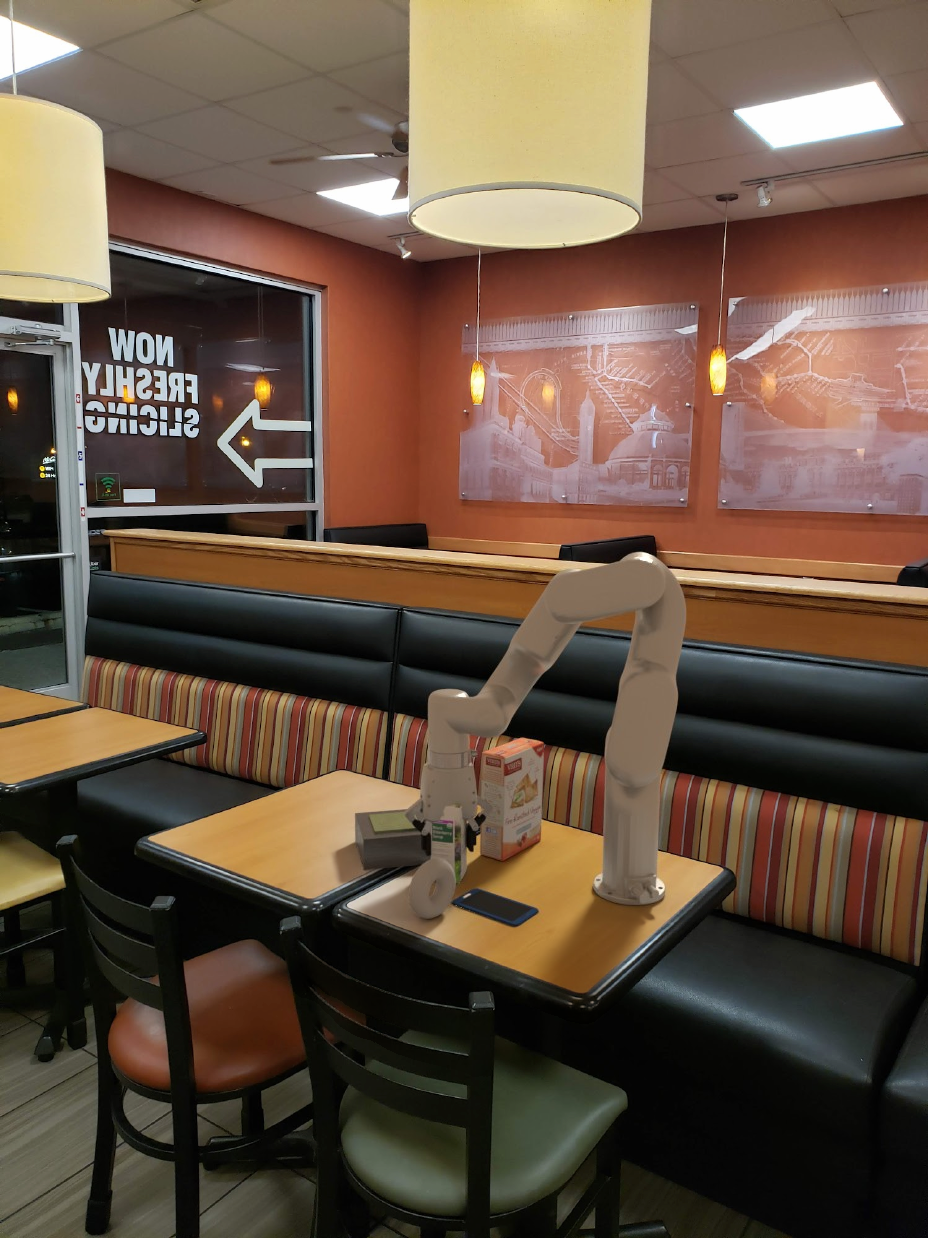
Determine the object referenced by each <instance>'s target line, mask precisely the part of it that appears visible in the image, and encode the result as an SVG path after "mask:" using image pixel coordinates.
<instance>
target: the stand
mask: <svg viewBox="0 0 928 1238" xmlns="http://www.w3.org/2000/svg"><path fill="white" fill-rule="evenodd" d="M407 809H408V808H406V809H393V810H380V811H378V810H377V811H368V812H367V811H366V812H355V813H354V832H355V834H354V835H355V836H354V837H355V838H354V840H355V841H354V842H355V845H356V848H357V852H358V855H359V859H360V862H361V866H362V869H363V871H366V870H368V871H369V870H370V871H371V870H378V869H390V868H399V867H411V866H421V865H422V864H424V863H425V862H427V861H428V860H431V855H430V856H427V855H426V853H425V851H424V850H422V848H421V832H420V831H419V830H418V829H416V828H415V827H414V826H413V824H412V823H411V822H410V821H409V820H408V819H407V818H406V816H405V814H404V812H405V811H406V810H407ZM415 817H416V818H417V819H418V820H419V821H422V820H423V818H424V815H423V813H421V812H420V810H419V811H418V812H417V813H416V814H415ZM429 833H430V830H429Z"/></svg>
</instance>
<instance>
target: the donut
mask: <svg viewBox="0 0 928 1238" xmlns="http://www.w3.org/2000/svg"><path fill="white" fill-rule="evenodd" d="M435 881H436V882H435ZM434 882H435V888H434V890H433V892H432V894H431V895H430V891H431V887H432V885H433V883H434ZM456 885H457V883H456V877H455V872H454V870H453V867H452V866H451V865H450V864H449V863H448V862H447V861H446V860H443V859H439V858H435V859H431V860H428V861H427V862H425V863H424V864H422V865H419V867H418V869H417V870H416V871H415V872H414V874H413V876H412V878H411V881H410V884H409V888H408V889H409V890H408V901H409V902H408V904H409V906H410V908H411V910H412V912H413V913H414V914H415V915H416V916H418V917H419V918H421V919H427V920H429V919H433V918H434V919H435V918H436V917H439V915H441V914H443V912H445V911H446V909H447V908H448V907H449V906H450V904H451V902H452V901H453V898H454V895H455V891H456Z"/></svg>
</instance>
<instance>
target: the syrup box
mask: <svg viewBox="0 0 928 1238" xmlns="http://www.w3.org/2000/svg"><path fill="white" fill-rule="evenodd" d="M461 805H462V804H460V805H452V806H446V807H445V808H444V811H443V814H442V816H441V818H440V820H439V821H435V822H433V823H432V827H431V828H430V835H431V859H435V858H439V859H443V860H446V861H447V862H448V863H449V864H450V865H451V866H452V867H453V870H454V872H455V877H456V884H461V882H462V880H463V878H464V877H465V875H466V872H467V869H468V868H467V867H468V866H467V865H468V864H467V863H468V862H467V861H468V860H467V856H468V854H467V853H468V851H467V850H468V848H467V826H468V821H467V819H463V815H462V806H461ZM461 879H462V880H461ZM460 881H461V882H460Z"/></svg>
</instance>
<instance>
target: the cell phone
mask: <svg viewBox="0 0 928 1238" xmlns="http://www.w3.org/2000/svg"><path fill="white" fill-rule="evenodd" d="M450 904H451V905H452V904H453V905H452V906H455V905H457V906H458V908H460V907H462V908H461V909H463V908H464V909H463V910H465V911H468V910H470V911H469V912H471V913H474V912H475V914H477V915H480V916H482V915H483V917H485V918H487V919H491V920H494V921H496V922H499V923H502V924H505V925H506V926H507V925H508V926H510V927H514V928H515V927H516V928H517V927H519V926H521V925H522V924H524V923H525V922H527V921H528V920H530V919H532V918H534V917H535V916H536V915H538V914H539V909H538V908H537V907H535V906H532V905H529V904H526V903H523V902H520V901H518V900H514V899H510V898H509V897H505V896H502V895H498V894H497V893H493V892H490V891H488V890H485V889H481V888H478V887H476V888H472V889H470V890H469V891H466V892H465V893H463V894H462V895H459V896H458V897H456V898H455V899H452V900H451V902H450ZM457 906H456V907H457Z"/></svg>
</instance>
